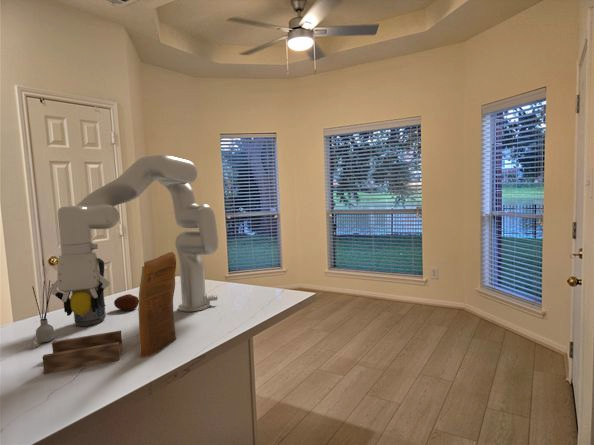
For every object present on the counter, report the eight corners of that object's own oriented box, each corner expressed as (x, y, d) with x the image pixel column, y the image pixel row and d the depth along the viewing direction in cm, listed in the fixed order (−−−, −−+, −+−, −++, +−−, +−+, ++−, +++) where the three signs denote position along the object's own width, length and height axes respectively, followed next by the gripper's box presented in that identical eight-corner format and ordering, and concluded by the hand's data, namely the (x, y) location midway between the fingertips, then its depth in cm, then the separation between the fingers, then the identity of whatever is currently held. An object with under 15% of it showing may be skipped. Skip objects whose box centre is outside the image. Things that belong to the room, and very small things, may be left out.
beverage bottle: (97, 328, 129) (91, 259, 127) (66, 326, 132) (60, 259, 130) (117, 318, 139) (112, 254, 137) (88, 317, 142) (83, 254, 140)
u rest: (122, 345, 113) (121, 330, 113) (119, 360, 102) (118, 343, 102) (54, 356, 106) (53, 341, 106) (44, 374, 96) (42, 357, 95)
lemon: (96, 315, 103) (94, 288, 103) (74, 321, 99) (72, 292, 99) (89, 312, 107) (87, 285, 107) (68, 317, 103) (66, 289, 103)
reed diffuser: (47, 336, 123) (41, 278, 121) (67, 336, 123) (62, 278, 121) (25, 349, 112) (18, 286, 111) (47, 348, 113) (41, 285, 111)
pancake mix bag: (188, 334, 119) (182, 250, 117) (150, 361, 101) (143, 261, 99) (170, 333, 121) (164, 250, 119) (130, 359, 103) (122, 261, 101)
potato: (131, 312, 145) (129, 297, 145) (111, 312, 147) (109, 296, 147) (142, 307, 152) (140, 292, 152) (122, 306, 154) (121, 292, 154)
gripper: (112, 245, 109) (116, 304, 110) (44, 251, 102) (50, 313, 104) (109, 248, 102) (114, 311, 103) (36, 254, 95) (42, 321, 97)
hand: (82, 311), depth 103 cm, fingers closed on lemon, 5 cm apart
